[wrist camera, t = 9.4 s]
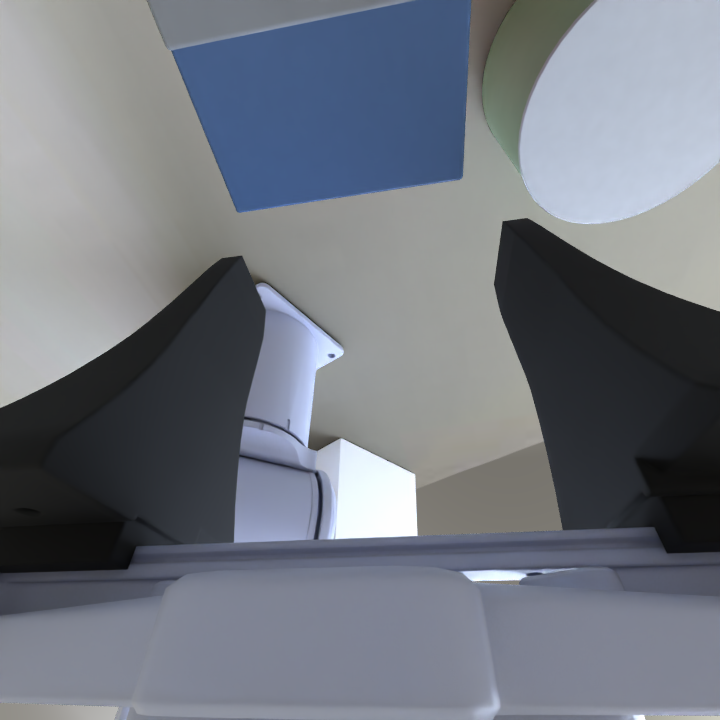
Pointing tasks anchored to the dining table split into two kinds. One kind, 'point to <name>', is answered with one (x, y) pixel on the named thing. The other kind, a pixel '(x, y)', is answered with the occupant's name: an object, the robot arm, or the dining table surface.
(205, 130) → the block
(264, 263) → the dining table surface
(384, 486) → the milk
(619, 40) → the green yogurt
